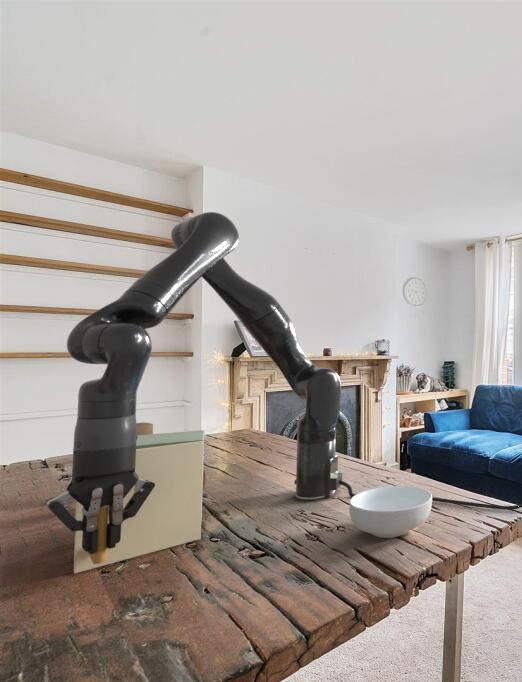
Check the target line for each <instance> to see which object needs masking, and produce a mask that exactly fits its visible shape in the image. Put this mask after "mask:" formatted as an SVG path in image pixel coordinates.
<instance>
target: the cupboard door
mask: <svg viewBox="0 0 522 682" xmlns="http://www.w3.org/2000/svg"><path fill="white" fill-rule="evenodd" d="M202 469H203V470H204V459H203V441H197V442H189V443H181V444H174V445H166V446H158V447H150V448H142V449H136V463H135V472H136V474H137V475H138V479H142V480H149V481H151V482H153V483H155V487H154V488H153V490H152V491H151V493H150V494H149V496H148V497H147V499H146V500H145V502H144V503H143V505H142V506H141V508H140V509H139V511H138V512H137V514H136V515H135V516H134V517H132V518H128V519H126V520H124V521H123V522H122V524H121V539H120V541H119V543H116V547H115V548H111V549H109V548H107V528H108V523H109V521H108V505H105V506H102V507H100V512H99V515H98V519H97V527H96V529H97V530H98V544H97V553H94V554H89V553H88V552H86V551H85V550H84V549H83V548H82V536H83V531H76V532H74V545H73V546H74V547H73V574H78V573H82V572H85V571H89V570H93V569H96V568H100V567H103V566H108V565H111V564H114V563H118V562H121V561H125V560H130V559H133V558H136V557H141V556H144V555H146V554H151V553H155V552H157V551H158V552H159V551H161V550H165V549H170V548H173V547H177V546H180V545H184V544H188V543H192V542H194V541H198V540H201V538H202V537H201V535H202V521H201V504H202V505H203V494H202ZM134 488H135V485H134V486H133V488H132V489H131V490H130V491H129V493H128V494H127V495H126V496H125V497H124V499H123V509H124V507H125V506H126V505H127V503H128V502H129V500H130V499H131V497H132V496H133V494H134V493H135V491H134ZM82 509H83V506H82V505H81V504H80V503H79V502H78V501H76V500H75V516H74V518H75V519H76V520H80V521H82V517H83V513H82Z"/></svg>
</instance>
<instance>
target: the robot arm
mask: <svg viewBox="0 0 522 682" xmlns="http://www.w3.org/2000/svg"><path fill="white" fill-rule="evenodd" d="M170 238H171V241H172V244H173V246H174V248H175V251H173V252H172V253H171V254H170V255H168V256H167V257H165V258H163V259H162V260H161V261H160V262H158V263H157V264H155V265H154V266H153V267H151V268H150V269H149V270H147V271H146V272H144V274H142V275H141V276H139V278H138V279H136V280H135V282H133V283H132V285H130V286H129V287H128V288H127V290H125V291H124V293H122V294H121V296H120V297H119V298H118V299H116V300H114V301H112V302H111V303H108V304H106V305H105V306H103V307H101V308H100V309H98V310H96V311H94V312H93V313H91V314H90V315H88V316H87V317H85V318H83V319H81V321H80V322H78V323H77V324H76V325H75V326H74V327H73V328H72V330H71V331H70V333H69V334H68V336H67V339H66V350H67V353H69V355H70V357H71V358H72V359H73V360H75V361H77V362H80V363H83V364H88V365H106V368H105V370H104V372H103V374H102V376H101V377H100V378H97V379H91V380H88V381H85V382H83V383H82V384H81V385H80V386H79V389H78V393H77V394H78V395H77V415H76V417H77V418H76V424H75V427H74V432H73V448H72V466H71V467H72V469H71V480H70V483H68V485H67V487H66V491H64V492H63V493H61V494H59V495H58V496H56V497H51V498H50V497H49V498H47V499H46V500H45V502H44V505H45V506H46V507H47V508H48V510H50V511H51V512H52V513H53V515H54V516H56V517H57V519H59V521H60V522H61V523H62V524H63V525H64V526H65V527H67V528H68V529H69V530H70V531H71V532H74V533H75V532H76V531H83V536H82V548H83V549H84V550H85V551H86V552H88V553H89V554H94V553H97V544H98V530H97V529H96V527H97V519H98V515H99V512H100V507H102V506H105V505H108V521H109V523H108V528H107V548H109V549H111V548H115V547H116V543H119V541H120V539H121V524H122V522H123V521H124V520H126V519H128V518H132V517H134V516H135V515H136V514H137V512H138V511H139V509H140V508H141V506H142V505H143V503H144V502H145V500H146V499H147V497H148V496H149V494H150V493H151V491H152V490H153V488H154V487H155V483H153V482H151V481H149V480H142V479H138V475H137V474H136V472H135V463H136V441H137V438H138V434H137V423H138V422H137V414H136V413H137V398H138V397H137V393H138V388H139V385H140V383H141V381H142V380H143V376H144V373H145V371H146V369H147V366H148V363H149V361H150V358H151V354H152V350H153V342H152V338H151V336H150V334H149V332H148V331H147V329H152V328H155V327H157V326H159V325H160V324H161V323H162V322H163V321H164V320H165V319H166V318H167V317H168V315H169V314H170V313H171V312H172V311H173V310H174V309H175V307H176V306H177V305H178V303H179V302H180V300H182V299H183V298H184V297H185V295H186V294H187V293H188V292H189V290H190V289H191V288H192V287H193V286H194V285H195V284H196V283H197V282H198V281H199V280H200V279H201V278H202V279H203V280H204V281H205V282H206V283H207V284H208V285H209V286H210V287H211V288H212V289H213V290H214V291H215V292H216V294H217V296H219V298H220V299H221V300H222V301H223V302H224V303H225V305H226V306H227V307H228V308H229V309H230V310H231V312H232V313H233V314H234V316H235V317H236V318H237V320H238V321H239V322H240V323H241V325H242V326H243V327H244V329H245V331H247V332H248V333H249V335H250V336H251V337H252V339H254V341H255V342H256V343H257V344H258V345H259V346H260V348H261V349H262V350H263V351H264V353H265V354H266V355H267V356H268V357H269V358H270V359H271V361H273V363H274V364H275V365H276V366H277V368H278V370H279V371H280V373H281V374H282V375H283V377H284V378H285V380H286V382H287V384H288V385H289V386H290V388H291V390H292V391H293V393H294V394H295V395H296V397H297V398H299V399H301V401H305V412H304V414H303V416H301V417H299V418H298V420H297V426H296V428H297V431H296V433H297V434H296V470H295V472H296V473H295V480H294V485H295V494H294V495H295V496H294V497H295V498H296V500H299V501H316V500H323V499H330V498H331V497H332V496H334V495H335V493H336V492H338V489H339V488H340V487H341V486H343V487H345V488H347V490H348V495H349V497H351V498H352V497H354V496H355V495H356V494H355V493H353V488H352V486H351V485H350V484H349V483H348V482H345V481H344V480H343V472H338V470H339V469H338V468H339V461H338V460H339V455H338V454H336V443H337V441H336V439H337V422H338V419H339V417H340V413H341V399H342V398H341V397H342V383H341V378H340V376H339V374H338V373H337V371H335V370H333V369H332V368H328V367H317V366H316V365H315V364H314V363H313V362H312V361H311V360H310V358H309V357H308V356H307V355H306V353H305V352H304V351H303V350H302V348H301V346H300V344H299V341H298V336H297V333H296V330H295V326H294V324H293V321H292V320H291V318H290V316H289V315H288V314H287V312H286V311H285V309H284V308H283V307H282V305H281V304H280V303H279V301H278V300H277V299H276V298H275V297H274V296H273V295H272V294H271V293H269V292H267V291H266V290H264V289H262V288H261V287H259V286H258V285H256V284H254V283H252V282H250V281H248V280H247V279H245V278H244V277H242V276H241V275H239V274H238V273H237V271H235V270H234V269H233V268H232V266H231V265H230V264H229V263H228V262H227V261H226V259H225V257H226V256H227V255H229V254H230V253H232V252H233V251H234V250H235V249H236V248H237V246H239V245H238V244H239V242H240V234H239V230H238V228H237V227H236V225H235V224H234V222H233V221H232V220H231V219H230V218H228V217H227V216H226V215H224V214H222V213H219V212H216V211H215V212H214V211H208V212H203V213H199V214H197V215H194V216H192V217H190V218H188V219H186V220H183V221H181V222H179V223H176V225H174V226H173V227H172V229H171V232H170ZM134 485H135V488H134V491H135V493H134V494H133V496H132V497H131V499H130V500H129V502H128V503H127V505H126V506H125V507H124V509H123V499H124V497H125V496H126V495H127V494H128V493H129V491H130V490H131V489H132V488H133V486H134ZM72 498H73V499H74V500H75V502H76V501H78V502H79V503H80V504H81V505H82V506H83V509H82V513H83V517H82V521H80V520H76V519H75V516H73V514H72V513H71V512H70V511H69V510H68V508H69V507H70V505H71V502H70V499H72ZM432 502H437V503H446V504H452V505H453V504H454V505H462V506H467V507H476V508H485V509H494V510H504V511H512V510H518V509H522V508H521V507H522V503H520V504H515V505H499V504H488V503H480V502H471V501H463V500H457V499H456V500H455V499H450V498H449V499H448V498H442V497H433V496H432ZM518 506H519V507H518Z"/></svg>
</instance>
